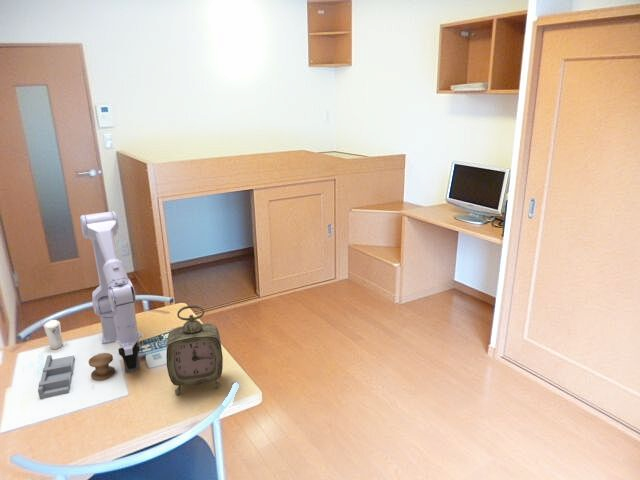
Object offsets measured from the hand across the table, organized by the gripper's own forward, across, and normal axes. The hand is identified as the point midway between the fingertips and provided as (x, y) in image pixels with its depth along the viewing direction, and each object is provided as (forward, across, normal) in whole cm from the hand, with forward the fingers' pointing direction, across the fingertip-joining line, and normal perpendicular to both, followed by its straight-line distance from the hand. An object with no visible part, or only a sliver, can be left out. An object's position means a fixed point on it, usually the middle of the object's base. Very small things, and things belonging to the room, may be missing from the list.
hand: (131, 363), depth 137 cm
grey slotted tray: (+1, +3, +20) cm, 20 cm away
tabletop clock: (+2, -16, -17) cm, 23 cm away
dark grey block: (+2, 0, 0) cm, 2 cm away
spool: (+1, 0, +8) cm, 8 cm away
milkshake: (+2, +22, +23) cm, 32 cm away
